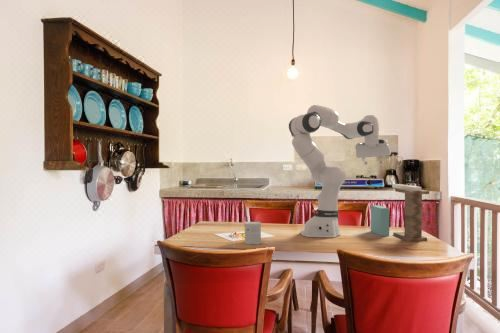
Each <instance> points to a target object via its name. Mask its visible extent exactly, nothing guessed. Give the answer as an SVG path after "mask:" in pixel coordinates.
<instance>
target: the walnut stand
mask: <svg viewBox="0 0 500 333" xmlns="http://www.w3.org/2000/svg"><path fill="white" fill-rule="evenodd" d="M394 190H395V192H397V193H402V194H404V231H403V232H402V231H400V232H396V231H395V232H393V234H392V235H393V236H395V237H397V238H399V239H401V240H404V241H406V242H423V241H424V242H427V241H428V237H426V236H423V235H422V234H423V233H422V232H423V231H422V230H423V229H422V228H423V226H422V225H423V195H429V194H430V191H429V190H424V189H421V191H412V190H405V189H399V188H394Z"/></svg>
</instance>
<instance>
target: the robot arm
mask: <svg viewBox="0 0 500 333" xmlns="http://www.w3.org/2000/svg"><path fill="white" fill-rule="evenodd" d="M339 120H340V117H339V113H338V112H337V111H336V110H334V109H333V108H329V107H326V106H324V105H318V104H313V105H311V106H310V107H309V108H308V109H307V112H306V113H305V114H300V115H297V116H296V117H294V118H292V119H291V120H290V121H289V122H288V130H289V132H290V134H291V137H292V140H291V144H292V146H293V148H294V150H295V152H296V153H297V155H298V157H300V159H301V160H302V161H303V162H304V164H305V165H306V167H307V168H308V170H309V172H310V174H311V175H310V176H311V179H312V181H313V182H314V183H316V184H317V185H321V186H322V188H321V190H320V193H319V194H317V195H318V196H317V209H312V213H313V214H314V216H312V217H310V219H308V220H307V221H305V224H304V226H303V227H304V228H303V230H300V235H302V236H304V237H307V238H336V237H339V236H341V233H340V232H341V231H340V229H339V228H340V227H339V221H338V220H339V209H338V205H339V204H338V201H339V200H338V199H339V193H340V189H341V187H342V185H343V184H344V183H345V181H346V179H347V177H346V175H347V174H346V172H345V171H344V170H343V169H342V168H339V167H338V166H329V165H328V164H326V162H325V154H324V153H323V152H322V151H321V150H320V148H319V146H317V144H316V143H315V142H314V141H313V140H312V137H311V134H312V133H315V132H316V131H317V130H319V128H320V127H323V128H325V129H329V130H331V131H334V132H335V133H336V132H337V133H339V134H340V135H342V136H343V137H344V138H345V139H347V140H352V139H357V138H364V142H357V144H355V147H354V148H355V156H356V158H358V159H359V158H360V159H362V162H363V164H364V165H365V166H367V165H368V161H366V158H372V157H373V158H375V157H381V160H380V163H379V164H380V165H382V164H384V161H385V158H386V156H387V157H389V156H391V154H392V152H391V146H390V145H389V141H388V139H384V138H380V137H381V136H380V134H379V131H380V126H379V125H380V124H379V123H380V122H379V119H378V117H377V116H376V115H369V114H368V115H364V117H363V118H362V119H361V120H358V121H355V122H349V123H344V122H341V121H339Z"/></svg>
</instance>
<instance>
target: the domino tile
mask: <svg viewBox="0 0 500 333" xmlns="http://www.w3.org/2000/svg"><path fill="white" fill-rule="evenodd" d="M391 188H394V189H405V190H412V191H421V190H422V186H415V185H410V184H402V183H392V184H391Z"/></svg>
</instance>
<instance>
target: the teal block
mask: <svg viewBox="0 0 500 333" xmlns="http://www.w3.org/2000/svg"><path fill="white" fill-rule="evenodd" d="M370 232H372V233H375V235H378V236H380V237H382V236H383V237H385V236H390V208H389V207H386V206H382V205H377V204H376V205H370Z"/></svg>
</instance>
